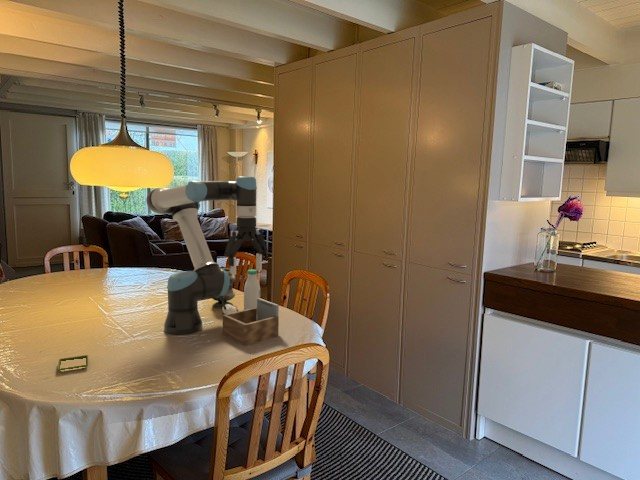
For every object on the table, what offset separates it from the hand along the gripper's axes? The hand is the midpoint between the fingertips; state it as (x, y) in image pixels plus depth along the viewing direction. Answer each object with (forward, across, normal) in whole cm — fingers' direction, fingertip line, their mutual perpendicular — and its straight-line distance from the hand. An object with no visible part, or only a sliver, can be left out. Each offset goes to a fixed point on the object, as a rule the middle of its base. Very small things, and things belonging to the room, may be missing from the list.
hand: (246, 272), depth 173 cm
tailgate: (+24, +10, 0) cm, 26 cm away
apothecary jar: (+26, +15, +42) cm, 52 cm away
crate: (+26, +2, 0) cm, 26 cm away
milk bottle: (+26, +21, +25) cm, 42 cm away
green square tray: (+27, -59, +14) cm, 66 cm away
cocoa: (+26, +6, +22) cm, 35 cm away
